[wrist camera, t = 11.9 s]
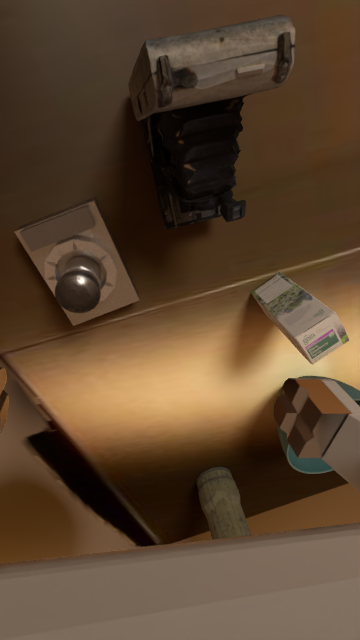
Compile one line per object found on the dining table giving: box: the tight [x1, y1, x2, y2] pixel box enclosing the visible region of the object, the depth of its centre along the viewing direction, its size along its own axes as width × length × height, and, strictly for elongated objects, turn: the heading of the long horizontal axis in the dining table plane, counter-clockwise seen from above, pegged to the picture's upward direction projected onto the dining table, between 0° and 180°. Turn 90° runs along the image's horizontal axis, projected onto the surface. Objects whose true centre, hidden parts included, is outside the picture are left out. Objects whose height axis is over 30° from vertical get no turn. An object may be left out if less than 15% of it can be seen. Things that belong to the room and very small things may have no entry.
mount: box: [15, 197, 139, 326], centre depth 39 cm, size 14×10×5 cm
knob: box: [55, 257, 101, 313], centre depth 37 cm, size 5×5×6 cm
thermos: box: [196, 467, 251, 540], centre depth 57 cm, size 9×12×35 cm
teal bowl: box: [277, 376, 360, 474], centre depth 57 cm, size 18×18×12 cm
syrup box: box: [251, 272, 349, 364], centre depth 44 cm, size 6×6×14 cm
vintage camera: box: [129, 15, 295, 229], centre depth 29 cm, size 10×15×20 cm, turn 11°
